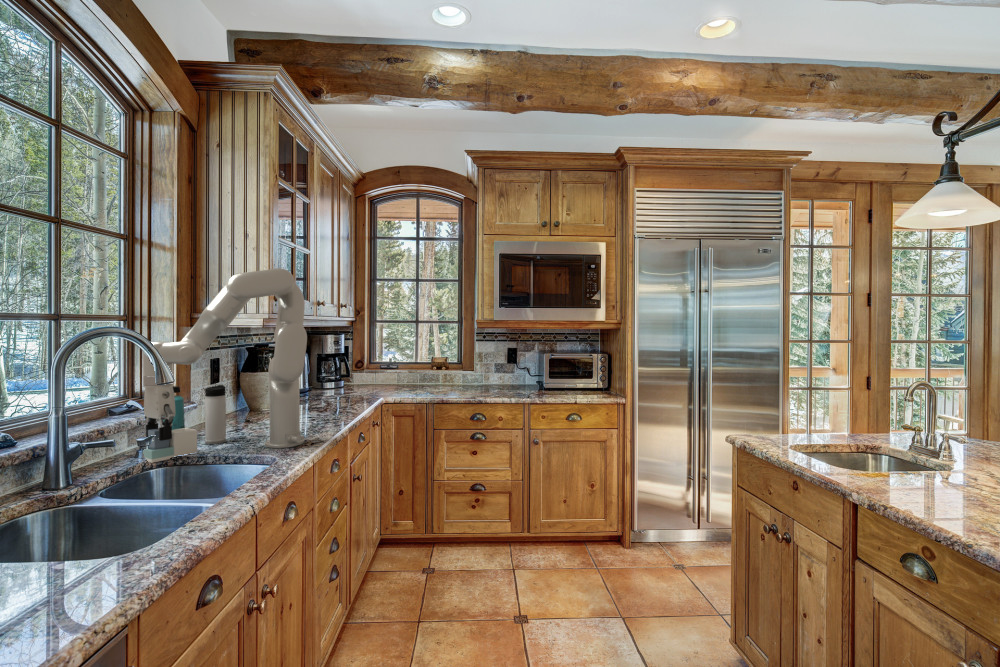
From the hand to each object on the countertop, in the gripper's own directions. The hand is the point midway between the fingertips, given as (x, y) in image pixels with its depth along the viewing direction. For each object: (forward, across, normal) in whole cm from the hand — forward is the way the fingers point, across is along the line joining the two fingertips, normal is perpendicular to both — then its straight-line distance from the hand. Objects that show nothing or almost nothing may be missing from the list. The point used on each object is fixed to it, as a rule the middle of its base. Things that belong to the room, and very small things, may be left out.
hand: (158, 437), depth 149 cm
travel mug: (+7, +6, -21) cm, 22 cm away
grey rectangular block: (+5, 0, 0) cm, 5 cm away
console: (+6, 0, -3) cm, 7 cm away
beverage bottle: (+7, +18, -12) cm, 23 cm away
